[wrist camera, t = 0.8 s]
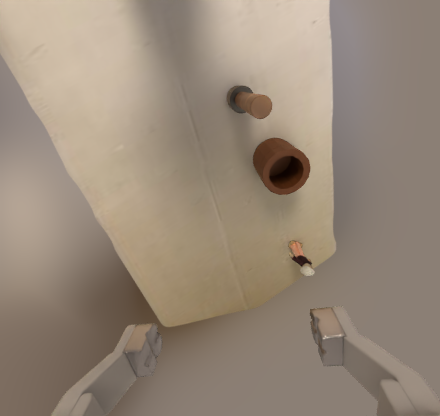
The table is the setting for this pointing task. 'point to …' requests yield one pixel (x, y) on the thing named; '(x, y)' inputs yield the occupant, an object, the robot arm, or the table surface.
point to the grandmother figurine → (301, 258)
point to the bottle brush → (249, 102)
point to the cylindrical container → (281, 166)
